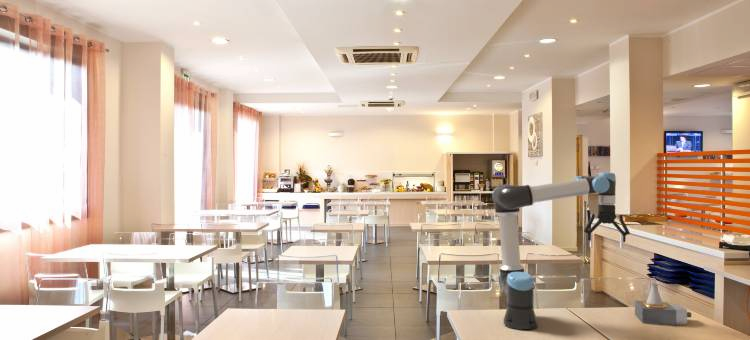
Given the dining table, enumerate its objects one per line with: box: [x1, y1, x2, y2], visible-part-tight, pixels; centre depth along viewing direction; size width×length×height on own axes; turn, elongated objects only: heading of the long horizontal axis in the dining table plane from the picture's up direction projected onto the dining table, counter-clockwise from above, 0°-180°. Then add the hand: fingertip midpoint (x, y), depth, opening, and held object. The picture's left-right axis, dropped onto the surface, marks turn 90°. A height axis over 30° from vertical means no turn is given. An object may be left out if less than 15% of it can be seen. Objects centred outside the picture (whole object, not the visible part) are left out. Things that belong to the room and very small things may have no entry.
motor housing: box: [634, 300, 692, 326], centre depth 231 cm, size 22×14×7 cm, turn 75°
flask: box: [646, 282, 663, 306], centre depth 232 cm, size 7×7×10 cm
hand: (606, 248), depth 237 cm, fingers open, 13 cm apart
